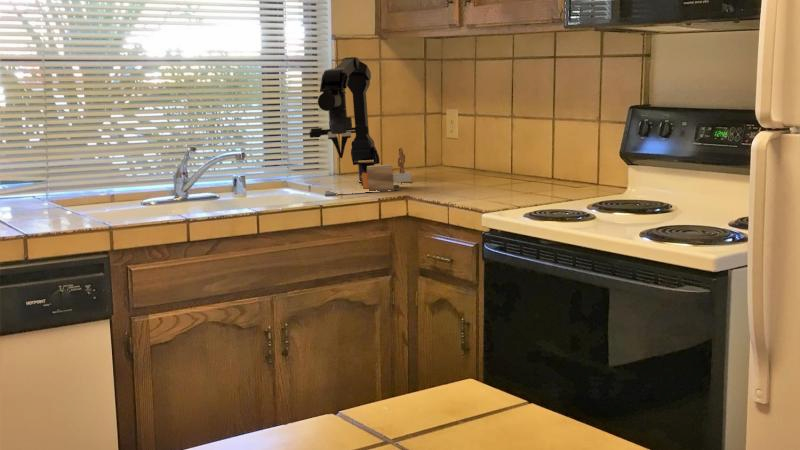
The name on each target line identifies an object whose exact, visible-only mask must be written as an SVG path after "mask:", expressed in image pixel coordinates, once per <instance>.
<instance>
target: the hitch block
mask: <svg viewBox="0 0 800 450" xmlns="http://www.w3.org/2000/svg"><path fill="white" fill-rule="evenodd" d="M367 173H368V187H369V191H376V190H390V189H394V185H395V184H394V183H393V173H394V172H393V166H392V164H391V163H389V164H374V166H367Z"/></svg>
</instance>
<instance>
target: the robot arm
mask: <svg viewBox="0 0 800 450" xmlns="http://www.w3.org/2000/svg"><path fill="white" fill-rule="evenodd" d="M371 78H372V72H371V70H370V68H369V66H368V65H367V64H366V63H365V62H362V61H361V60H360V59H359V58H358V57H356V56H351V57H348V56H347V57H344V58H342V60H341V62H339V64H338V65H336V66H335V67H334V68H329V69H325V70H324V71H323V73H322V76H321V82H320V89H319V91H320V93H321V94H320V95H319V97H318V99H317V104H318V108H320V109H321V110H322V111H325V112H328V118H329V119H328V120H329V121H328V127H329V128H327V129H323V127H311V129H309V138H311V139H313V138H314V139H315V138H321V136H328V137H327V139H328V140H331V141H332V143H333V145H334V146H335V150H336V151H337V153H338V154H337V155H338V157H339V159H343V156H344V151H345V147H346V144H347V142H348V139H350V138H352V135H351V134H355V137H354V139H353V141H351V149H350V156H351V161H352V166H356V165H357V168H358V180H360V181H361V175H362V172H366V171H367V166H375V165H380V164H381V163H380V162H381V161H380V155H379V153H378V150H377V147H376V145H375V140H374V139H373V138H372V137H371V135H370V133H369V132H370V130H369V118H368V117H369V116H368V106H367V105H368V102H367V92H368V90H369V87H370V85H371V80H372V79H371ZM347 88H348V90H349V91H350V92H351V95H352V103H353V115H354V118H353V119H354V127H353V124H352V123H353V122H352V116H349V117H348V114H347V113H348V112H347V99H346V95H347V94H346V93H347V92H346V89H347ZM340 134H341V141H340V142H341V143H340V142H339V138H338V136H337V135H340ZM340 144H341V145H340ZM340 146H341V147H340Z"/></svg>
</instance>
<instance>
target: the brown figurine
mask: <svg viewBox="0 0 800 450" xmlns="http://www.w3.org/2000/svg"><path fill="white" fill-rule="evenodd" d="M398 155H399V157H398V158H397V167H398V168H399V173H406V172H405V166H404V165H405V162H406V156H405V155H406V153H404V150H403V148H402V147H399V148H398ZM399 183H401V184H400V185H403V184H402V183H410V184H412V180H411V181H410V182H398V183H397V184H399Z"/></svg>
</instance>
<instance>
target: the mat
mask: <svg viewBox="0 0 800 450" xmlns="http://www.w3.org/2000/svg"><path fill="white" fill-rule="evenodd" d="M390 190H400V191H401V188H400V184H394V189H390ZM377 191H388V190H377ZM336 194H337V193H334V192H330V191H326V190H325V193H324V196H325V197H335V195H336Z"/></svg>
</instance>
